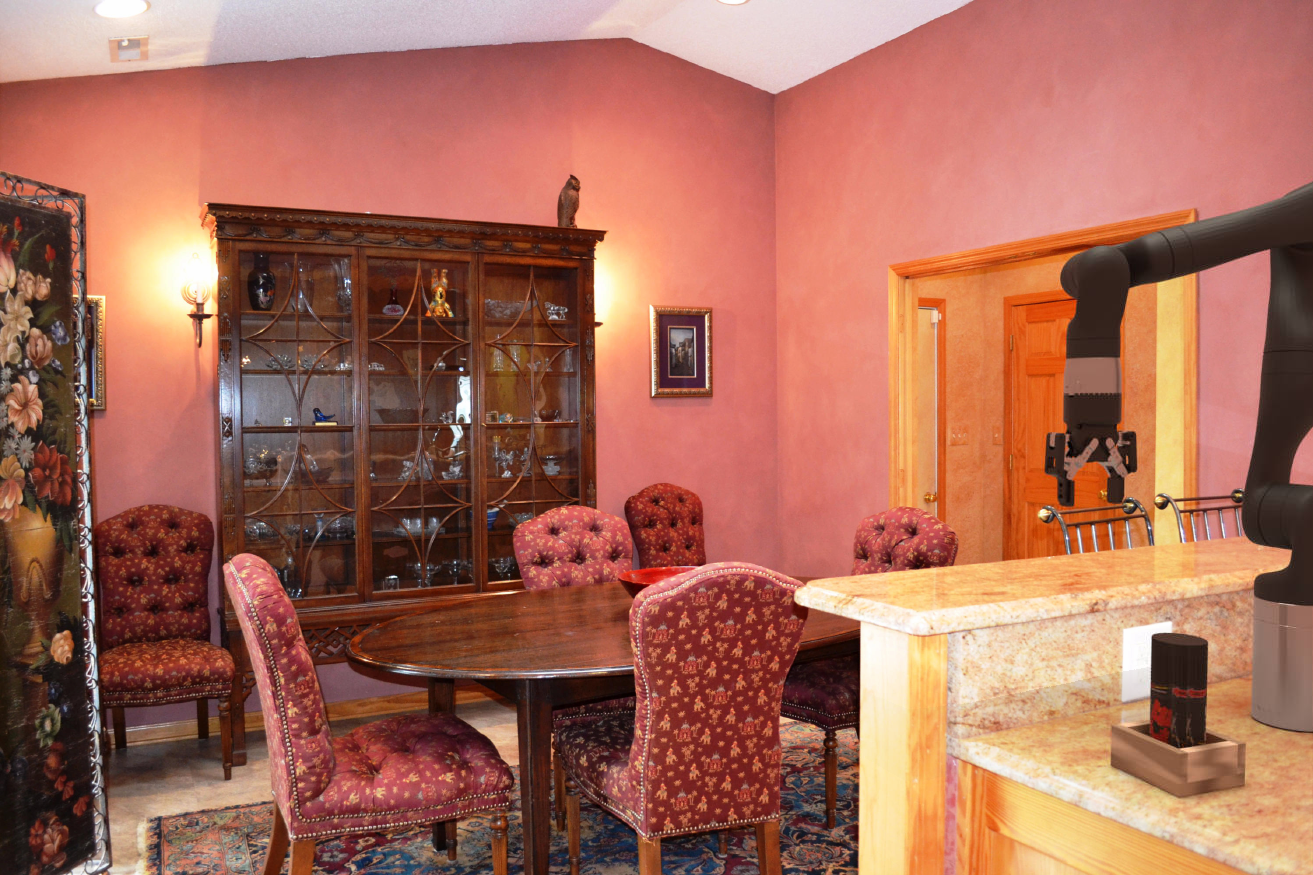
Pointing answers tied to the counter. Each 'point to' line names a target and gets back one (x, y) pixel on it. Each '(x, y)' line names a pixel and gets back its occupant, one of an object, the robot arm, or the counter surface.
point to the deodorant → (1178, 689)
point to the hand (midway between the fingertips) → (1090, 504)
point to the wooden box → (1178, 760)
